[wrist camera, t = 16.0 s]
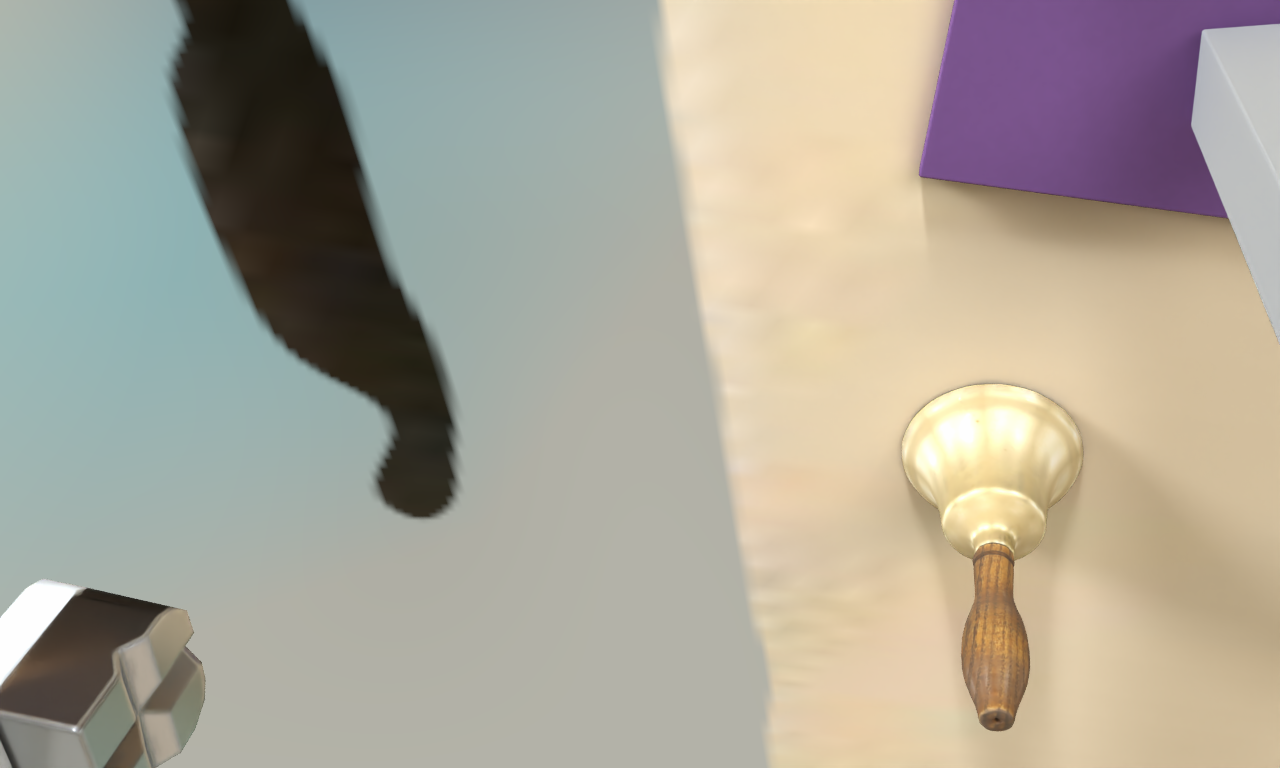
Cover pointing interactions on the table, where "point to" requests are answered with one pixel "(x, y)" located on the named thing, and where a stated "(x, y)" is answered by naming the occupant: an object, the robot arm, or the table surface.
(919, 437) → the hand bell
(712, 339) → the table surface
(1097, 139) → the mat
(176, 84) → the table surface
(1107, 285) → the table surface
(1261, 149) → the vintage mobile phone
